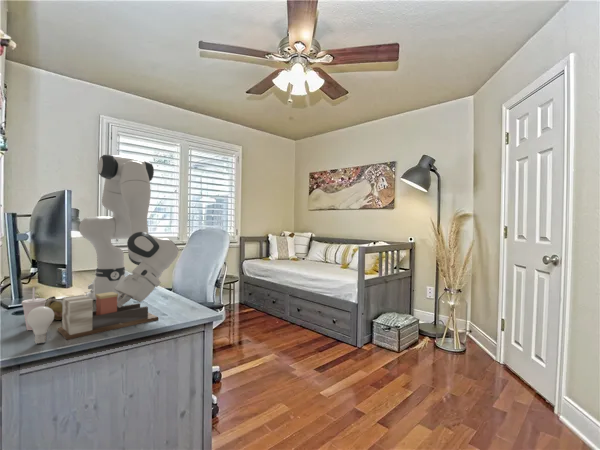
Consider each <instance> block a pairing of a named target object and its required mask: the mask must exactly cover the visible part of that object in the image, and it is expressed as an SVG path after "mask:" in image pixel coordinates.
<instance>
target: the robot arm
mask: <svg viewBox="0 0 600 450" xmlns="http://www.w3.org/2000/svg"><path fill="white" fill-rule="evenodd" d="M96 165H97V172H98V174H99V176H100V177H102V178H103V179H105V180H104V185H103V191H102V192H103V193H102V197H101V205H102V207H104V208H105V209H106V210H108V211H109V212H112V213H113V214H112V216H104V215H103V216H99V215H95V216H88V217H84V218H83V219H82V220H81V221H80V223H79V226H78V230H79V234H80V235H81V236H82V237H83V238H84V239H86V240H87V241H89V242H90V243H91V244H92V246H93V248H94V250H95V252H96V263H97V264H96V266H97V267H96V269H95V277H94V278H93V280H92V281H91V283H89V284H88V285H87V289H88V290H90V291H88V292H85V296H87V297H89V298H91V299H92V300H93V301H96V296H95V294H100V293H107V292H114V293H117V294H118V296H117V307H119V308H120V307H122V306H124V305H126V303H128V302H130V301H131V300H134V301H137V302H138V303H140V302H143V301H144V300H145V299H147V297H148V296H149V295H151V293H152V292H153V291H154V290H155V289H156V288H157V287H159V286H160V285H161V281H160V277H161V276H162V274H163V272H165V270H166V269H168V268H169V267H170V266H171V265H172V264H173V263H174V261H175V260H176V259H177V257H178V255H179V248H178V246H177V244H175V242H174V241H173V240H171V239H170V238H161V237H156V236H154V235H151V234H150V233H149V225H148V215H149V214H148V213H149V208H150V204H151V203H150V202H151V194H152V193H151V192H152V190H151V189H152V188H151V181H152V180H153V178H154V173H155V171H154V165H153V164H152V163H151V162H150V161H148V160H145V159H139V158H135V157H132V156H123V155H113V154H103V155H101V156H100V157H99V159H98V162H97V164H96ZM123 239H125V240H126V239H127V242H126V244H127V245H126V246H127V247H126V248H127V251H128V253H127V254H128V259H129V261H130V262H131V263H133V264H134V265H136V267H135V268H134V269H133V270H132V271H131V273H132V274H128V275H127V276H125V274H126V269H125V266H124V265H125V253H124V250H123V249H122V248H120V247H118V246H115V245H114V244H113V243H112V240H123Z"/></svg>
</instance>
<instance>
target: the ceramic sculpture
mask: <svg viewBox="0 0 600 450" xmlns="http://www.w3.org/2000/svg"><path fill="white" fill-rule="evenodd" d="M45 299H46V302H45V306H46V307H49V308H51V309H52V310H53V312H54V319H53V320H56V321H57V320H58V321H60V320H62V305H63V298H62V299H61V298H56V296H50V297H48V298H45Z"/></svg>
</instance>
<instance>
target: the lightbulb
mask: <svg viewBox="0 0 600 450" xmlns="http://www.w3.org/2000/svg"><path fill="white" fill-rule="evenodd" d="M54 320H55V319H54V312H53V310H52V309H51V308H49V307H46V306H40V307H36V308H34V309H33V310H31V311H30V312H29V314H28V315H27V323H28V325H29V326H30V327H31V328H32V329H33V330H32V333H33V334H34V343H35V344H36V345H37V344H38V345H42V344H44V343H45V342H47V332H48V330H49V327H50V325H51V324H52V323H53V322H54Z"/></svg>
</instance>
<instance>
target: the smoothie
mask: <svg viewBox="0 0 600 450" xmlns="http://www.w3.org/2000/svg"><path fill="white" fill-rule="evenodd" d="M35 295H36V288H35V287H32V298H29V299H25V300H22V301H21V305H22V308H23V309H22V310H23V315H24V320H25V326H26V331H28V330H32V331H33V329H32V328H31V327H30V326H29V325H28V323H27V315H28V314H29V312H30V311H31V310H33V309H34V308H36V307H40V306H45V302H46V299H47V298H45V297H44V298H43V297H36V296H35ZM35 297H36V298H35Z"/></svg>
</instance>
